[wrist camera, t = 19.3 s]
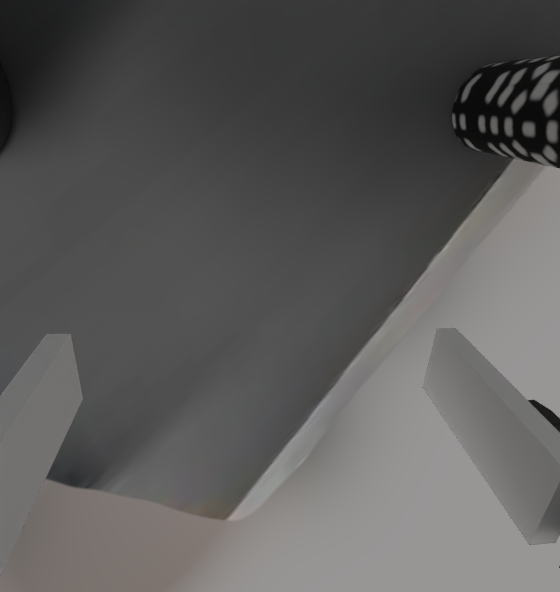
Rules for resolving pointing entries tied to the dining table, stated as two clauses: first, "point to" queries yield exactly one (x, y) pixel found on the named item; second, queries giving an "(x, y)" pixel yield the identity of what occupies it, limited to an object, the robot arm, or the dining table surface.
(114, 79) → the dining table surface
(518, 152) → the white-spotted black cylinder
